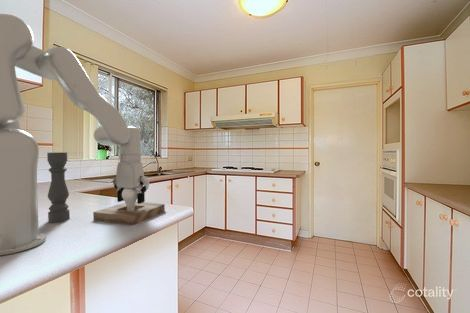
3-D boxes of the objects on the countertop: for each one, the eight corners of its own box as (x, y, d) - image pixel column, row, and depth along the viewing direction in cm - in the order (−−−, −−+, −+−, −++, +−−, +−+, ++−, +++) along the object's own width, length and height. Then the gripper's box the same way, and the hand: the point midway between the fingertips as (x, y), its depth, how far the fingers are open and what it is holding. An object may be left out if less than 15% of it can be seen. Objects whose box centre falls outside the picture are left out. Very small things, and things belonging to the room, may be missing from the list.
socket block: (132, 225, 76) (132, 216, 76) (93, 219, 82) (93, 211, 82) (164, 211, 93) (164, 204, 93) (130, 207, 99) (130, 201, 99)
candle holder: (57, 223, 78) (55, 152, 77) (43, 222, 79) (41, 152, 78) (73, 218, 84) (72, 152, 83) (60, 217, 85) (58, 152, 84)
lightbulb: (127, 217, 83) (126, 188, 82) (119, 214, 87) (118, 186, 86) (142, 213, 88) (141, 186, 87) (134, 210, 92) (133, 184, 91)
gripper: (105, 158, 86) (106, 202, 86) (141, 159, 80) (142, 206, 81) (120, 158, 93) (121, 198, 93) (155, 158, 88) (155, 201, 88)
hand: (131, 201), depth 87 cm, fingers open, 9 cm apart
